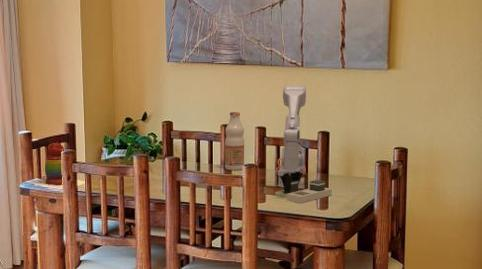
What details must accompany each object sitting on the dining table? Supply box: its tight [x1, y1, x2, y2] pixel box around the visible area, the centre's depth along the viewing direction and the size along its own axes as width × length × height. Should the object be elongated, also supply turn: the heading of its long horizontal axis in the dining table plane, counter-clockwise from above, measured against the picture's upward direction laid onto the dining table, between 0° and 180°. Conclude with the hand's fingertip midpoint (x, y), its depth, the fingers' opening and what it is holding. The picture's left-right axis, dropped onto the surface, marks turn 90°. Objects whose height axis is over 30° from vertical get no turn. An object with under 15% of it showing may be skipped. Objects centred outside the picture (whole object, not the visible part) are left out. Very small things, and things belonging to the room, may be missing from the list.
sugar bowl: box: [275, 157, 307, 176], centre depth 325 cm, size 12×14×10 cm
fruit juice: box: [224, 111, 245, 171], centre depth 340 cm, size 9×9×28 cm
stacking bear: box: [44, 141, 66, 186], centre depth 306 cm, size 11×10×18 cm
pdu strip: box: [286, 187, 333, 204], centre depth 279 cm, size 7×20×3 cm, turn 136°
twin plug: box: [309, 179, 326, 192], centre depth 282 cm, size 4×4×6 cm
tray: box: [274, 189, 287, 198], centre depth 285 cm, size 9×9×2 cm
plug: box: [283, 179, 299, 194], centre depth 284 cm, size 4×4×6 cm
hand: (290, 190), depth 284 cm, fingers closed on plug, 4 cm apart
